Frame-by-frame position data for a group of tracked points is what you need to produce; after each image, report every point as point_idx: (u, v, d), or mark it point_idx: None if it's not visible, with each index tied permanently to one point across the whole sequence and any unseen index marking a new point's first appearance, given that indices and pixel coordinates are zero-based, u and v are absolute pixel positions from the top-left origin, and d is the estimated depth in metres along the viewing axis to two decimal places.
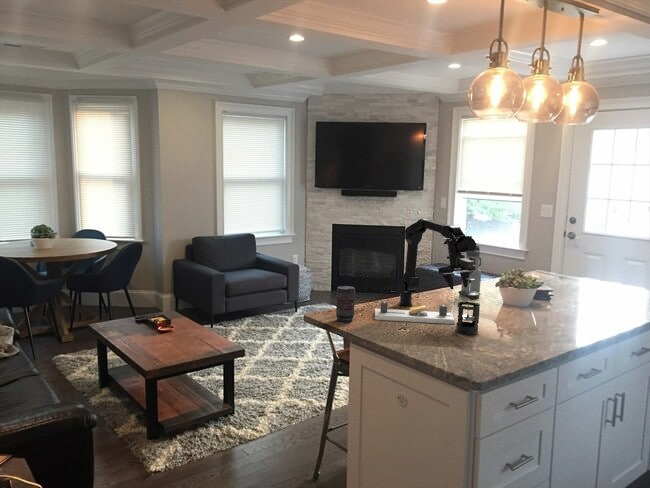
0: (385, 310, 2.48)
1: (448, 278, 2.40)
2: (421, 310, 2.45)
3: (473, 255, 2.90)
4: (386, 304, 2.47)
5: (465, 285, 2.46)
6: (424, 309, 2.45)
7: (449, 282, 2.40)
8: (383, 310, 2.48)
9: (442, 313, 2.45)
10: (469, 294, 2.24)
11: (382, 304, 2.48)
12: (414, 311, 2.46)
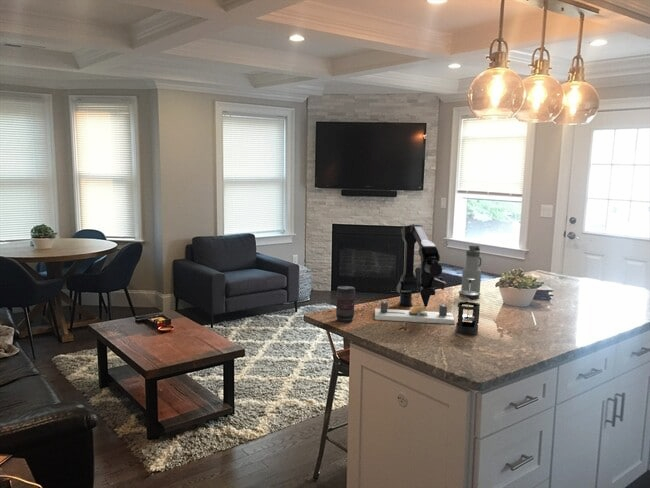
0: (385, 310, 2.48)
1: (425, 296, 2.45)
2: (421, 310, 2.45)
3: (473, 255, 2.90)
4: (386, 304, 2.47)
5: None
6: (424, 309, 2.45)
7: (425, 300, 2.46)
8: (383, 310, 2.48)
9: (442, 313, 2.45)
10: (469, 294, 2.24)
11: (382, 304, 2.48)
12: (414, 311, 2.46)
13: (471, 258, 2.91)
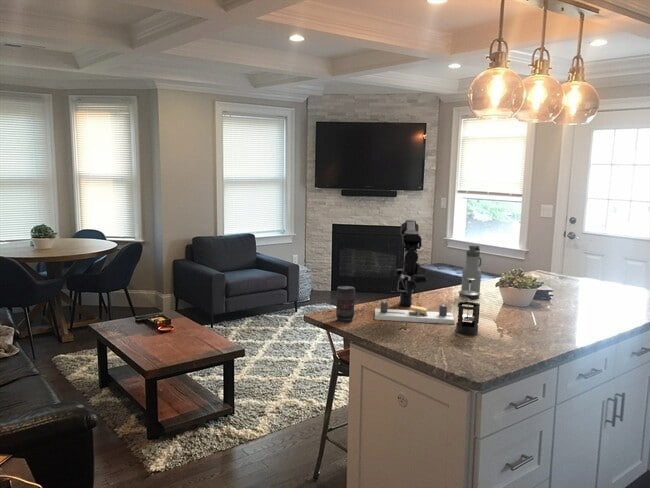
0: (385, 310, 2.48)
1: (409, 284, 2.45)
2: (421, 311, 2.45)
3: (473, 255, 2.90)
4: (386, 304, 2.47)
5: None
6: (424, 311, 2.45)
7: (410, 288, 2.46)
8: (383, 310, 2.48)
9: (442, 313, 2.45)
10: (469, 294, 2.24)
11: (382, 304, 2.48)
12: (414, 309, 2.46)
13: (471, 258, 2.91)
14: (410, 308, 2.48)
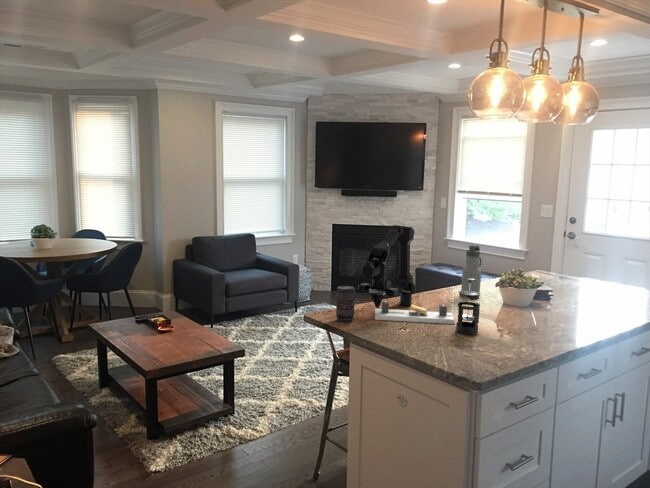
0: (386, 310, 2.48)
1: (380, 298, 2.48)
2: (421, 311, 2.45)
3: (473, 255, 2.90)
4: (387, 304, 2.47)
5: None
6: (424, 312, 2.45)
7: (380, 302, 2.48)
8: (384, 310, 2.48)
9: (442, 313, 2.45)
10: (469, 294, 2.24)
11: (383, 304, 2.48)
12: (414, 309, 2.46)
13: (471, 258, 2.91)
14: (410, 307, 2.48)
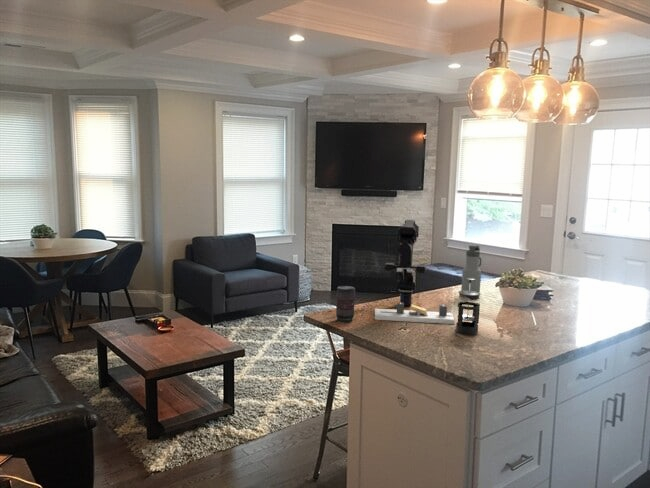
0: (401, 311, 2.47)
1: None
2: (421, 311, 2.45)
3: (473, 255, 2.90)
4: (402, 305, 2.47)
5: None
6: (424, 312, 2.45)
7: (407, 279, 2.54)
8: (399, 311, 2.47)
9: (442, 313, 2.45)
10: (469, 294, 2.24)
11: (398, 305, 2.47)
12: (414, 309, 2.46)
13: (471, 258, 2.91)
14: (410, 307, 2.48)
